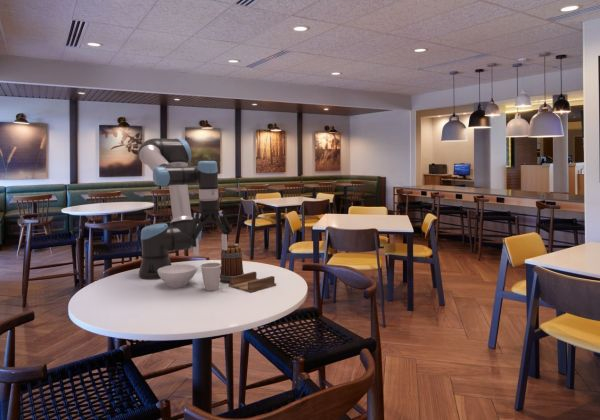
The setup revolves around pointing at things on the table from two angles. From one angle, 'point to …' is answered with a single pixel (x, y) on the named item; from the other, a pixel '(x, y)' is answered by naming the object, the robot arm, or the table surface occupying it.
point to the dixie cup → (211, 276)
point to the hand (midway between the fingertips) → (210, 252)
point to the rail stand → (251, 282)
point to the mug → (231, 262)
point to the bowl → (177, 274)
